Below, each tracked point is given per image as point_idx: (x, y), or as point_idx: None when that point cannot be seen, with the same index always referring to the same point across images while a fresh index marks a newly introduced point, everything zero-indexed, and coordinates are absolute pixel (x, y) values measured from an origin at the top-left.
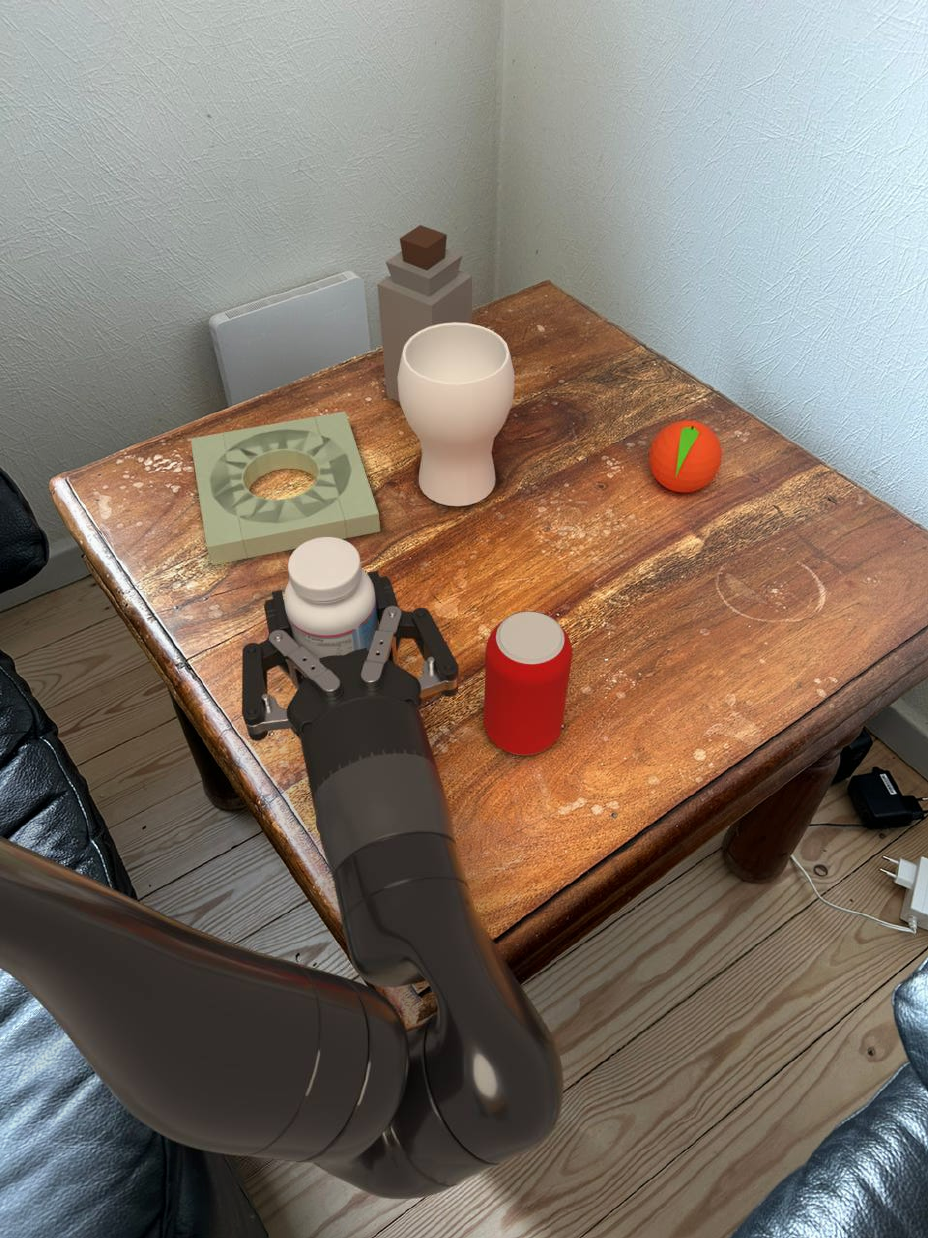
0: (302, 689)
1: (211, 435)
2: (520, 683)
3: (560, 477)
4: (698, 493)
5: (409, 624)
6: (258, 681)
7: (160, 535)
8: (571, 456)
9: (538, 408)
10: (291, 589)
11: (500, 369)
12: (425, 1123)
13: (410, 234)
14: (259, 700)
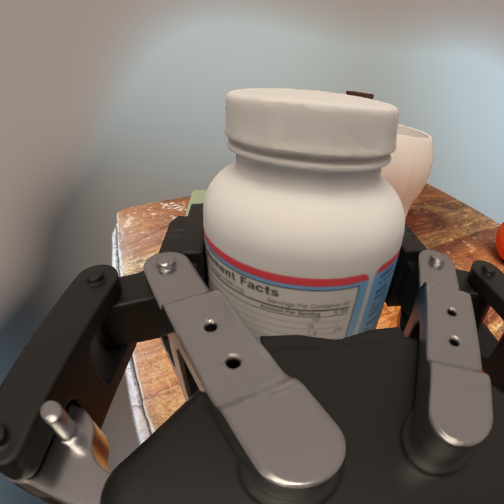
0: (175, 432)
1: (206, 190)
2: None
3: (443, 247)
4: None
5: (467, 290)
6: (60, 356)
7: (151, 240)
8: (445, 237)
9: (417, 212)
10: (225, 169)
11: (429, 138)
12: None
13: (352, 91)
14: (31, 414)
